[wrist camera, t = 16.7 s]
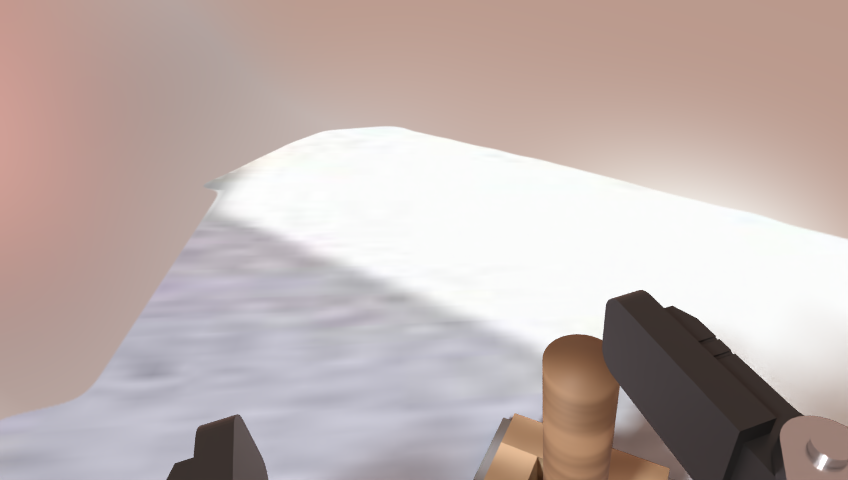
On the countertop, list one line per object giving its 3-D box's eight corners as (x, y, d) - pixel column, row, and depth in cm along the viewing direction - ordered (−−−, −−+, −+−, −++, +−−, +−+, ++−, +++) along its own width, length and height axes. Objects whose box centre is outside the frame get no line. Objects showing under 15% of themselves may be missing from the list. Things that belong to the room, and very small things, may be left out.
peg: (590, 584, 37) (610, 403, 25) (535, 557, 39) (531, 377, 27) (605, 531, 39) (629, 347, 28) (553, 508, 41) (556, 326, 30)
